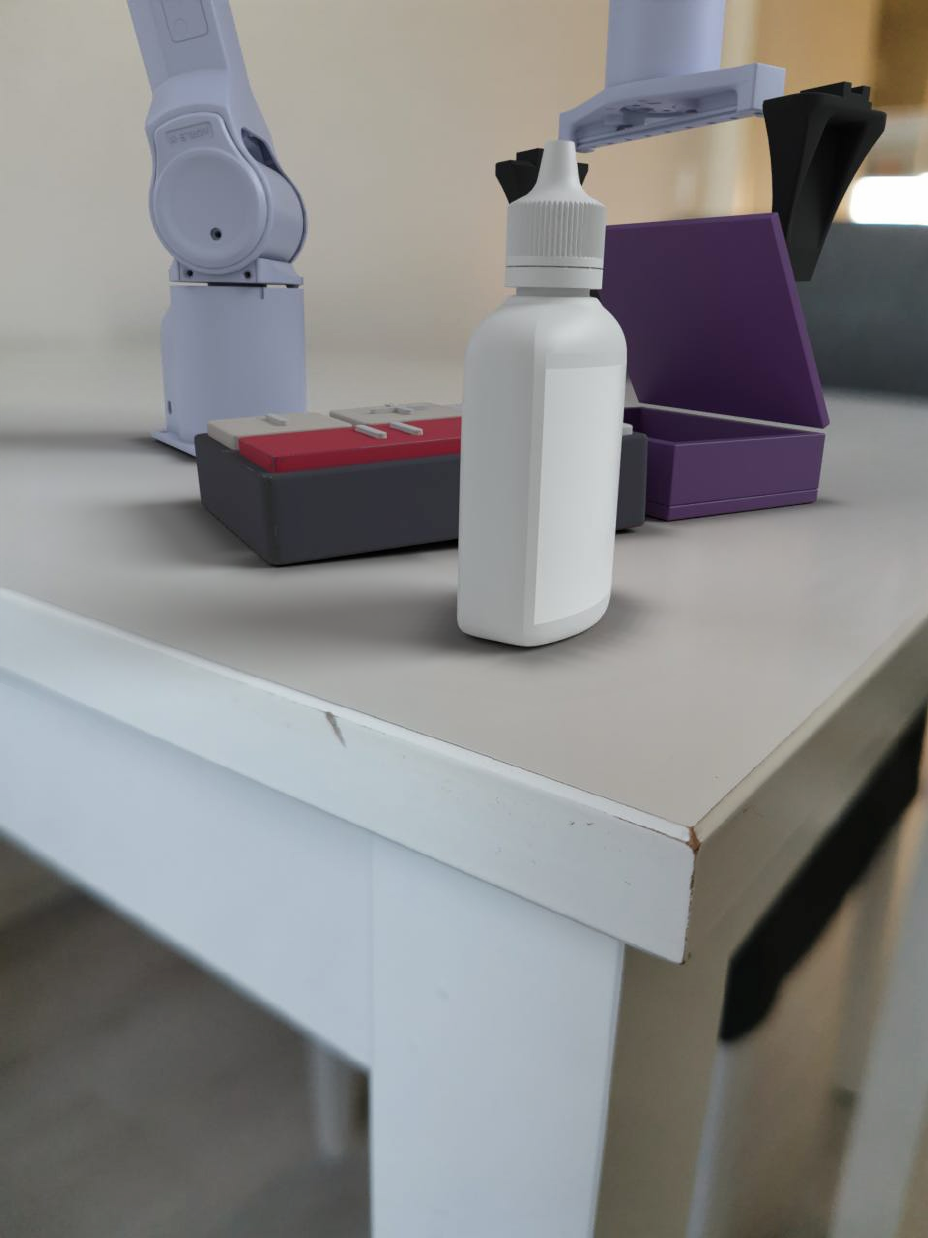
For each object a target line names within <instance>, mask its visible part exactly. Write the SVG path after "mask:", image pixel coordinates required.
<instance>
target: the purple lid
mask: <svg viewBox="0 0 928 1238" xmlns="http://www.w3.org/2000/svg"><path fill="white" fill-rule="evenodd" d="M600 270H601V269H600ZM602 270H603V278H602V289H596V290H597V292H598V295H599V298H600V302H601V304H602V306H603V307H604V308H605V309H606V310H607V311H608V312H609V313H610V314H611V315H612V316H613V317H614V318H615V319H616V321H617V322H618V324H619V325H620V327H621V329H622V331H623V334H624V336H625V340H626V347H627V366H626V373H627V374H628V377H629V380H630V383H631V386H632V388H633V391H634V393H635V397H636V399H637V402H638V403H639V404H644V405H652V406H660V407H664V408H665V407H666V408H673V409H680V410H688V411H694V412H702V413H708V414H714V415H722V416H730V417H735V418H742V419H749V420H750V419H751V420H757V421H764V422H771V423H772V422H773V423H778V424H786V425H793V426H800V427H806V428H813V429H820V430H825V428H827V427H828V426H830V424H831V421H830V417H829V413H828V409H827V405H826V401H825V397H824V392H823V389H822V385H821V381H820V376H819V373H818V368H817V363H816V361H815V356H814V353H813V348H812V344H811V340H810V337H809V332H808V328H807V324H806V320H805V316H804V312H803V308H802V304H801V300H800V296H799V293H798V288H797V284H796V281H795V280H794V276H793V272H792V268H791V264H790V260H789V256H788V252H787V248H786V244H785V240H784V236H783V232H782V227H781V223H780V219H779V215H778V213H777V212H774V213H772V212H765V213H764V212H763V213H761V212H760V213H748V214H738V215H737V214H735V215H723V216H710V217H709V216H708V217H698V218H697V217H696V218H683V219H672V220H671V219H669V220H658V221H644V222H634V223H633V222H632V223H620V224H619V223H618V224H606V230H605V246H604V262H603V269H602Z"/></svg>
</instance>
